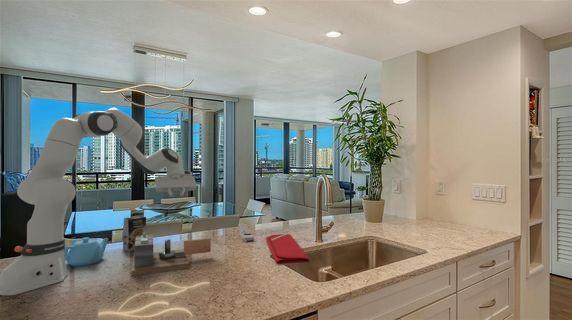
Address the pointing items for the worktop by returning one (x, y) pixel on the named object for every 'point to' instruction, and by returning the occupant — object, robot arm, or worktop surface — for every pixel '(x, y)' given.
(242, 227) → the mobile phone
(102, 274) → the worktop surface
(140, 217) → the coffee box
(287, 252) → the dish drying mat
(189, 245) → the wooden lever
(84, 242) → the teapot
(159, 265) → the stand
